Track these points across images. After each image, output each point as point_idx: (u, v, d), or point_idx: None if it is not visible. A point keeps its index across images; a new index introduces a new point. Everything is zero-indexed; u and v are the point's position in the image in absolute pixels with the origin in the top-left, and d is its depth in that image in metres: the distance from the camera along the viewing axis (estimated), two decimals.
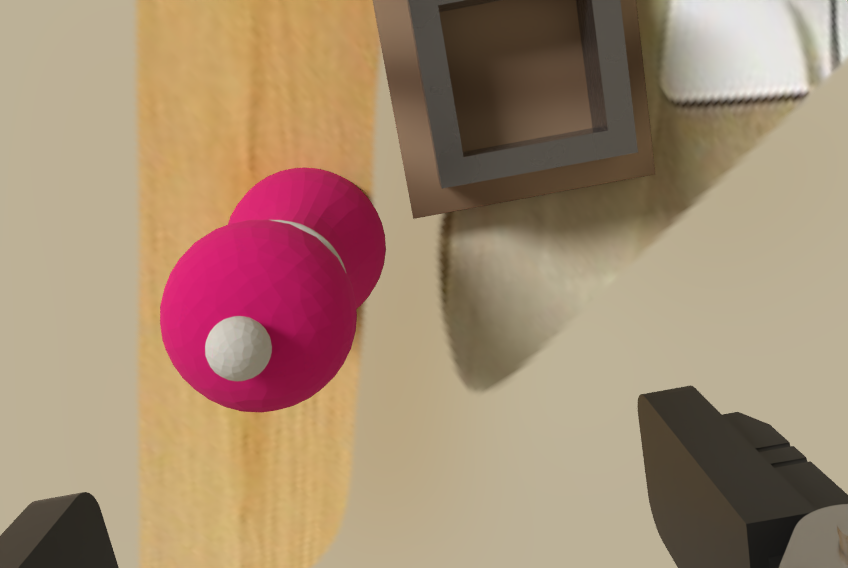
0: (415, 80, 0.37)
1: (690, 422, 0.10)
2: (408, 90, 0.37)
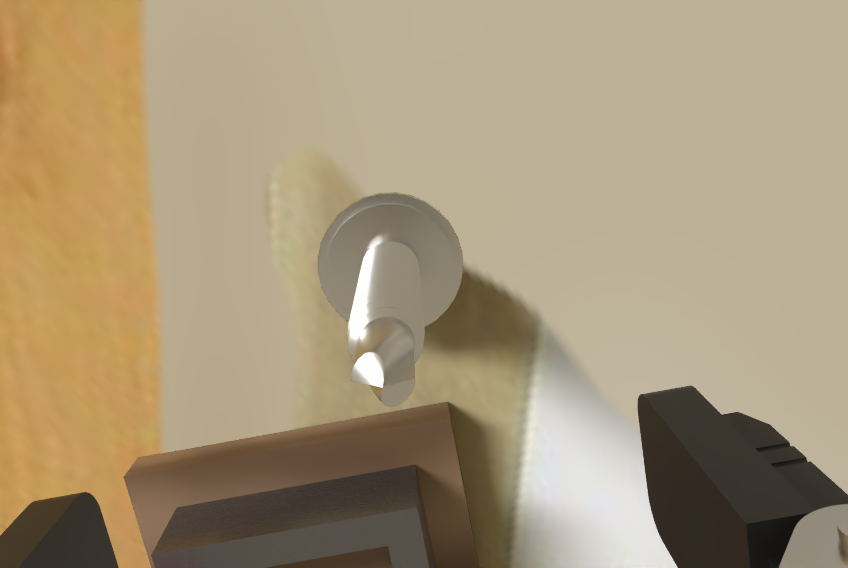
0: None
1: (690, 422, 0.10)
2: None
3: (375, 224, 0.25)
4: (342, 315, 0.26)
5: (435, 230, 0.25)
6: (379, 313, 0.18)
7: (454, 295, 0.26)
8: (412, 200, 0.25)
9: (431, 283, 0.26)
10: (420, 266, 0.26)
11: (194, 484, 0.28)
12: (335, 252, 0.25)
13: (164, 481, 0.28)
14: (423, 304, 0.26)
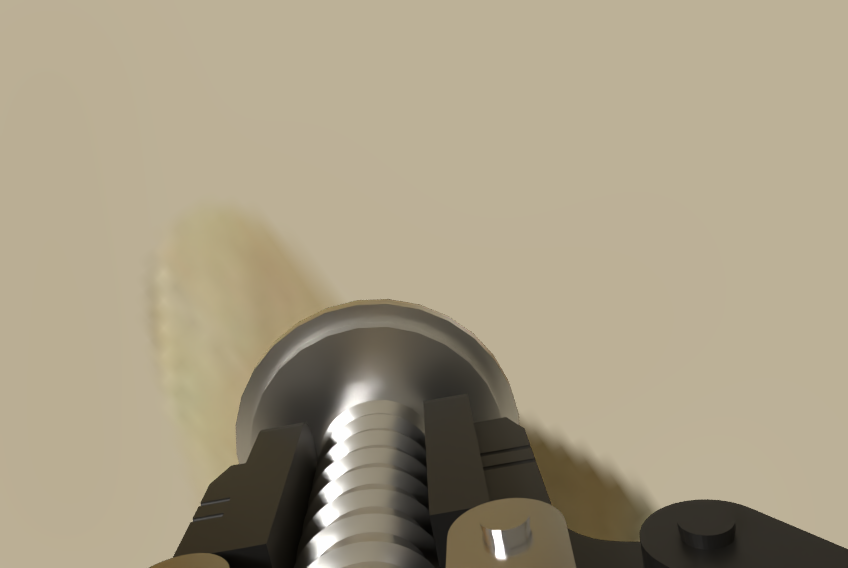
0: None
1: (444, 426, 0.11)
2: None
3: (347, 366, 0.13)
4: None
5: (467, 376, 0.13)
6: None
7: None
8: (421, 316, 0.13)
9: None
10: None
11: None
12: (267, 419, 0.13)
13: None
14: None
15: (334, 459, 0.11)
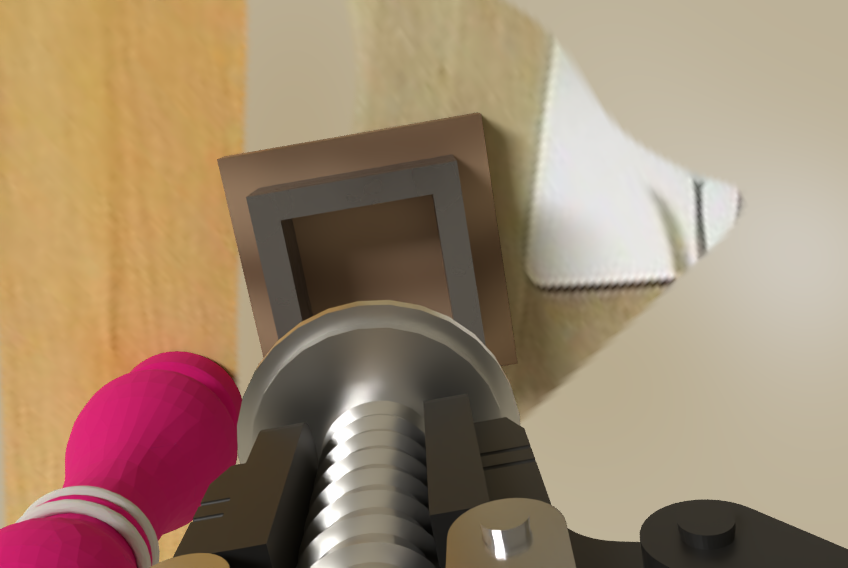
0: None
1: (444, 426, 0.11)
2: None
3: (348, 366, 0.13)
4: None
5: (468, 377, 0.13)
6: None
7: None
8: (423, 317, 0.13)
9: None
10: None
11: (273, 167, 0.35)
12: (268, 420, 0.13)
13: (249, 164, 0.35)
14: None
15: (335, 460, 0.11)
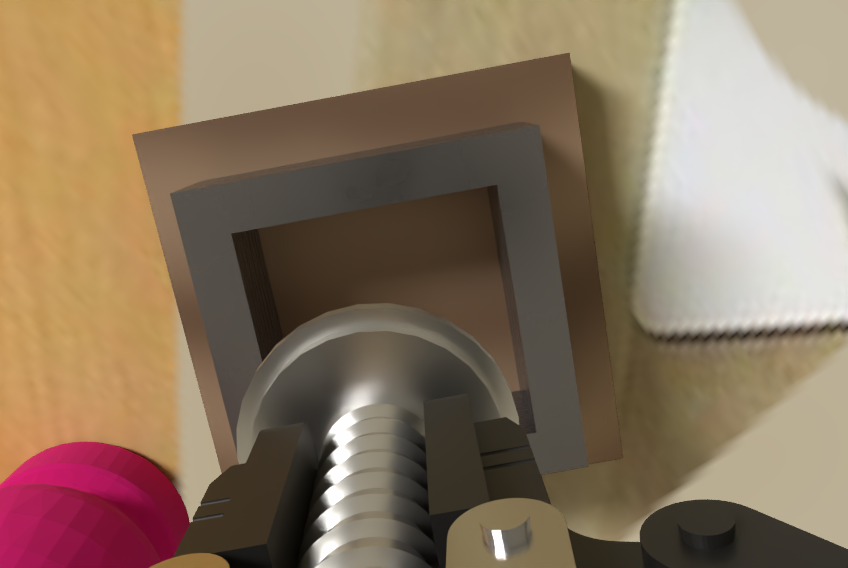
0: None
1: (444, 426, 0.11)
2: None
3: (348, 369, 0.13)
4: None
5: (467, 380, 0.13)
6: None
7: None
8: (422, 320, 0.13)
9: None
10: None
11: (226, 147, 0.21)
12: (268, 423, 0.13)
13: (186, 141, 0.21)
14: None
15: (335, 463, 0.11)
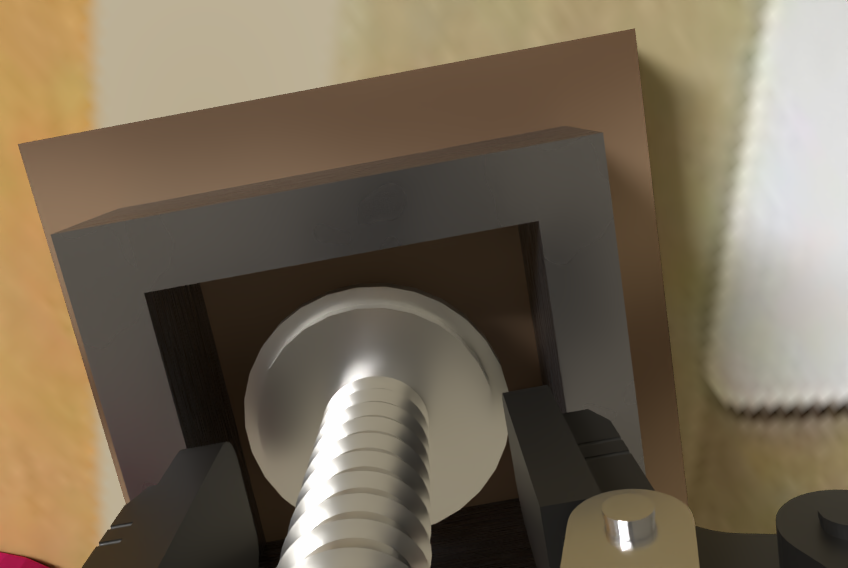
0: None
1: (532, 418, 0.10)
2: None
3: (347, 344, 0.14)
4: (290, 501, 0.15)
5: (459, 355, 0.14)
6: None
7: (493, 467, 0.14)
8: (416, 299, 0.14)
9: (451, 449, 0.14)
10: (431, 419, 0.14)
11: (151, 161, 0.15)
12: (273, 394, 0.14)
13: (94, 154, 0.15)
14: (437, 486, 0.14)
15: (333, 428, 0.12)
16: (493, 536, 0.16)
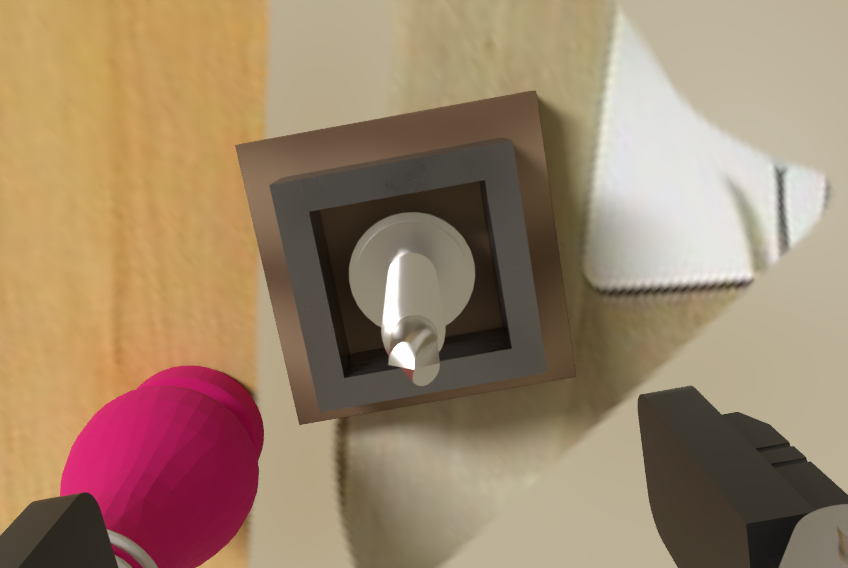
0: None
1: (690, 422, 0.10)
2: (289, 286, 0.32)
3: (399, 238, 0.29)
4: (369, 317, 0.30)
5: (451, 243, 0.29)
6: (408, 312, 0.22)
7: (467, 300, 0.30)
8: (431, 217, 0.29)
9: (447, 289, 0.30)
10: (438, 275, 0.30)
11: (299, 154, 0.31)
12: (364, 263, 0.29)
13: (272, 150, 0.31)
14: None
15: None
16: (467, 342, 0.31)
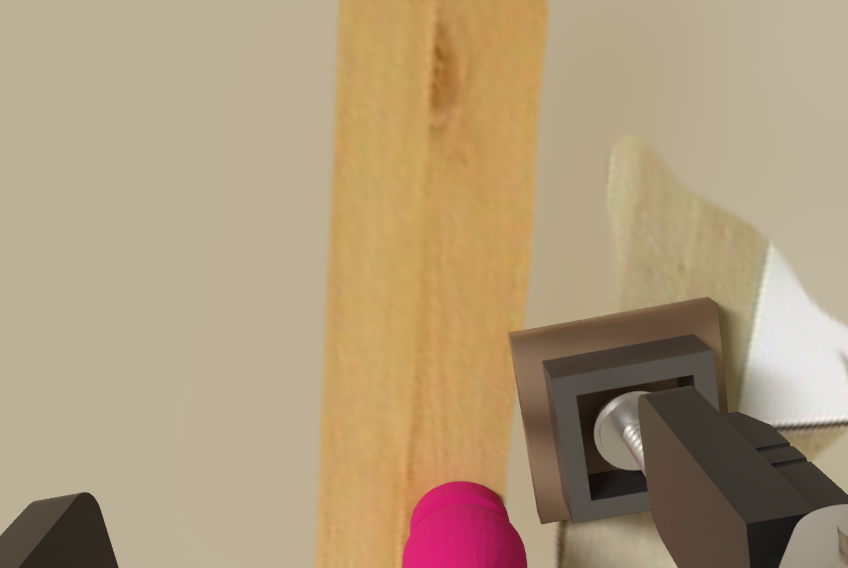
0: (547, 424, 0.46)
1: (690, 422, 0.10)
2: (541, 431, 0.46)
3: (631, 409, 0.44)
4: (606, 459, 0.45)
5: None
6: None
7: None
8: None
9: None
10: None
11: (554, 345, 0.45)
12: (606, 425, 0.44)
13: (536, 343, 0.45)
14: None
15: (635, 435, 0.42)
16: None
